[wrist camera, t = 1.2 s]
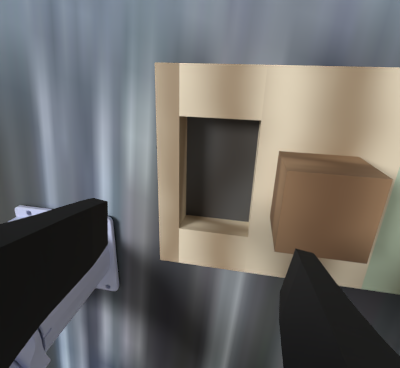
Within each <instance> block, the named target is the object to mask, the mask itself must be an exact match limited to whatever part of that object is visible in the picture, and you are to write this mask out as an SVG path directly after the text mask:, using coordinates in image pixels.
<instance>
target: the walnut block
mask: <svg viewBox="0 0 400 368" xmlns="http://www.w3.org/2000/svg"><path fill="white" fill-rule="evenodd" d="M392 182H393V179H392V178H390V177H389V176H387V175H386V174H384V173H383V172H381V171H380V170H378V169H377V168H375V167H374V166H372V165H371V164H369V163H368V162H366V161H365V160H363V159H362V158H360V157H355V156H341V155H327V154H313V153H299V152H285V151H279V155H278V162H277V169H276V176H275V183H274V190H273V197H272V204H271V211H270V223H271V230H272V237H273V245H274V252H279V253H287V254H294V251H295V248H296V249H300V250H304V251H308V252H312V253H314V254H315V255H316V257H318V258H325V259H333V260H341V261H348V262H356V263H364V264H367V262H368V258H369V255H370V252H371V249H372V246H373V242H374V239H375V236H376V233H377V230H378V226H379V223H380V220H381V217H382V214H383V210H384V207H385V204H386V201H387V198H388V194H389V191H390V188H391V185H392Z"/></svg>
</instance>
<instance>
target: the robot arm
mask: <svg viewBox="0 0 400 368" xmlns="http://www.w3.org/2000/svg"><path fill="white" fill-rule="evenodd" d="M15 214H16V218H14V219H12V220H10V221H8V222H7V223H3V224H0V368H46V366H47V365H48V364H49V362H50V358H49V357H48V356H47V354H46V351H47V350H48V349H49V347H50V346H51V345H52V344H53V342H54V341H55V340H56V338H57V337H58V336H59V335H60V333H61V332H62V331H63V329H64V328H65V327H66V325H67V324H68V323H69V322H70V320H71V319H72V318H73V316H74V315H75V314H76V312H77V311H78V310H79V309H80V307H81V306H82V305H83V303H84V302H85V301H86V300H87V298H88V297H89V296H90V294H91V293H92V292H93V290H94V289H95V288H98V289H104V290H110V291H117V290H118V288H119V277H118V267H117V257H116V247H115V237H114V227H113V220H112V218H111V217H109V216H108V206H107V201H103V200H99V199H95V198H92V199H87V200H83V201H79V202H76V203H72V204H69V205H66V206H62V207H59V208H56V209H47V208H39V207H31V206H22V205H20V206H18V207H16V208H15ZM109 285H110V286H109ZM279 323H280V335H281V346H282V356H283V367H284V368H400V356H399V355H398V354H397V353H396V352H395V351H394V350H393V349H392V348H391V347H390V346H389V345H388V344H387V343H386V342H385V341H384V340H383V338H382V337H381V336H380V335H379V334H378V333H377V332H376V331H375V329H374V328H373V327H372V326H371V325H370V324H369V323H368V321H367V320H366V319H365V318H364V317H363V316H362V315H361V313H360V312H359V311H358V310H357V308H356V307H355V306H354V305H353V304H352V302H351V301H350V300H349V299H348V297H347V296H346V295H345V294H344V292H343V291H342V290H341V288H340V287H339V286H338V284H337V283H336V282H335V281H334V279H333V278H332V277H331V275H330V274H329V273H328V271H327V270H326V269H325V267H324V266H323V264H322V263H321V262H320V260H319V259H318V258H317V257H316V255H315V254H314V253H312V252H308V251H304V250H300V249H296V248H295V251H294V254H293V257H292V260H291V262H290V265H289V268H288V271H287V274H286V277H285V279H284V282H283V285H282V288H281V291H280V307H279Z"/></svg>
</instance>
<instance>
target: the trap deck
mask: <svg viewBox="0 0 400 368" xmlns="http://www.w3.org/2000/svg"><path fill="white" fill-rule="evenodd" d="M155 90H156V126H157V162H158V197H159V233H160V260H165V261H172V262H179V263H186V264H193V265H200V266H207V267H213V268H220V269H227V270H234V271H241V272H248V273H255V274H262V275H268V276H275V277H282V278H285V277H286V274H287V271H288V268H289V265H290V262H291V260H292V257H293V254H287V253H279V252H274V245H273V237H272V230H271V223H270V211H271V204H272V197H273V190H274V183H275V176H276V169H277V162H278V155H279V151H285V152H299V153H313V154H327V155H341V156H355V157H360V158H362V159H363V160H365V161H366V162H368V163H369V164H371V165H372V166H374V167H375V168H377V169H378V170H380V171H381V172H383V173H384V174H386V175H387V176H389V177H390V178H392V179H393V182H392V185H391V188H390V191H389V194H388V198H387V201H386V204H385V207H384V210H383V214H382V217H381V220H380V223H379V226H378V230H377V233H376V236H375V239H374V242H373V246H372V249H371V252H370V255H369V258H368V262H367V264H364V263H356V262H348V261H341V260H333V259H325V258H318V257H317V258H318V259H319V260H320V262H321V263H322V264H323V266H324V267H325V269H326V270H327V271H328V273H329V274H330V275H331V277H332V278H333V279H334V281H335V282H336V283H337V284H338V286H344V287H351V288H358V289H365V290H372V291H379V292H385V293H392V294H399V295H400V68H391V67H343V66H295V65H246V64H198V63H155Z"/></svg>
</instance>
